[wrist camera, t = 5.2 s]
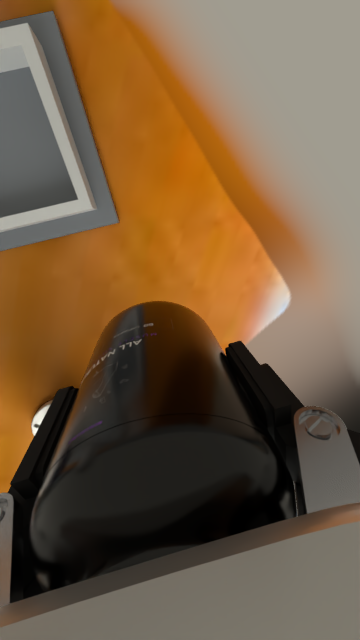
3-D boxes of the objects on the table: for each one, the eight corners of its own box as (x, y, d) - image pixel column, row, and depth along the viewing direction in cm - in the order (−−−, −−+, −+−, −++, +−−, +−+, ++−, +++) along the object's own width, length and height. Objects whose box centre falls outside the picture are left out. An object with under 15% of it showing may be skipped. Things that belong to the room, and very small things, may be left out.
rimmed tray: (119, 222, 26) (116, 223, 23) (-18, 255, 25) (-42, 261, 22) (57, 20, 19) (39, -19, 16) (-135, 60, 18) (-193, 28, 15)
